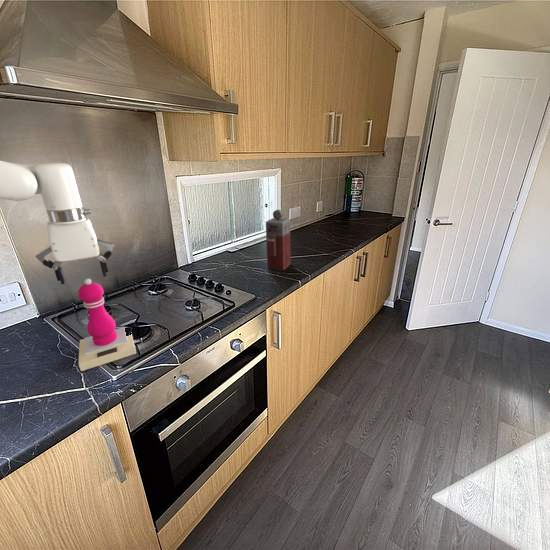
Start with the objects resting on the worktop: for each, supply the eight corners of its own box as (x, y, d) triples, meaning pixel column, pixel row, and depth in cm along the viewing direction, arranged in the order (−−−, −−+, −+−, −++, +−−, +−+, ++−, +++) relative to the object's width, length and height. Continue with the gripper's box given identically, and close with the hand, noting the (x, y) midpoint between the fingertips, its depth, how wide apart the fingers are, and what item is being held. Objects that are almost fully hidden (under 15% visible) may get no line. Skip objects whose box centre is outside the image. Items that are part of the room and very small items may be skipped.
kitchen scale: (81, 371, 79) (77, 362, 78) (81, 346, 90) (79, 338, 89) (136, 353, 86) (134, 345, 85) (131, 332, 96) (129, 324, 95)
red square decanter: (265, 269, 143) (262, 212, 132) (274, 261, 152) (272, 207, 141) (282, 272, 140) (280, 213, 129) (290, 264, 149) (290, 208, 138)
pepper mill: (120, 330, 92) (103, 271, 84) (117, 343, 86) (99, 281, 78) (94, 336, 89) (74, 276, 82) (89, 349, 83) (68, 286, 75)
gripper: (105, 210, 80) (119, 268, 87) (26, 217, 72) (47, 280, 79) (106, 214, 74) (121, 276, 81) (20, 222, 66) (44, 291, 73)
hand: (84, 278), depth 80 cm, fingers open, 9 cm apart
